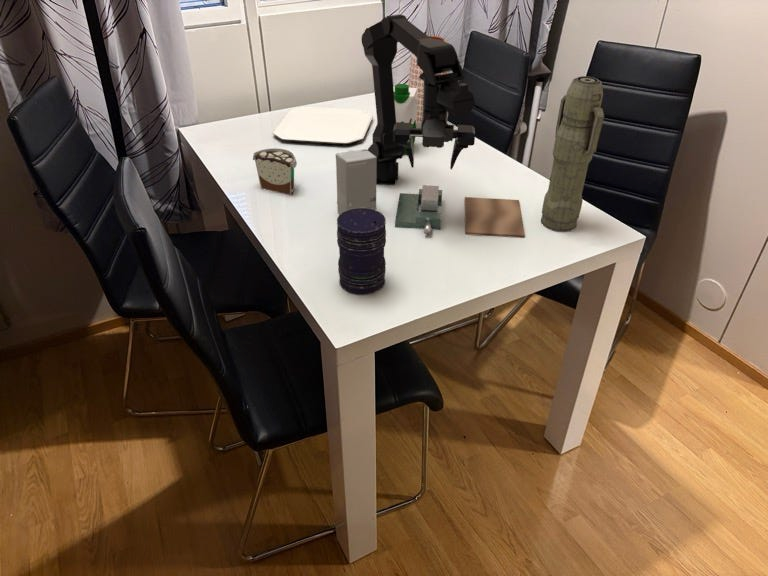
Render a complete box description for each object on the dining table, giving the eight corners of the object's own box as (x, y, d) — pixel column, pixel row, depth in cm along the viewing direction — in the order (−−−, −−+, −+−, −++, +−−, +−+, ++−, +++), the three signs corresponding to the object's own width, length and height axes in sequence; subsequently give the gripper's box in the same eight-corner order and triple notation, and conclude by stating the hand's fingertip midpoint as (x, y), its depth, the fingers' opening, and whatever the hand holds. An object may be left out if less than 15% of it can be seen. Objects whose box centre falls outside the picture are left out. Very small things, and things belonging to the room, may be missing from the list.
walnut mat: (465, 234, 146) (465, 232, 145) (464, 199, 160) (464, 197, 160) (524, 237, 145) (525, 235, 144) (518, 202, 159) (518, 199, 159)
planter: (406, 121, 204) (408, 33, 188) (445, 122, 204) (452, 34, 188) (405, 137, 194) (408, 44, 177) (447, 138, 193) (454, 45, 177)
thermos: (564, 238, 144) (596, 90, 124) (528, 218, 152) (552, 76, 132) (589, 228, 149) (624, 83, 128) (553, 208, 156) (580, 69, 136)
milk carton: (384, 154, 183) (384, 87, 171) (389, 142, 190) (390, 77, 178) (413, 156, 182) (415, 89, 170) (417, 145, 189) (420, 79, 177)
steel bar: (420, 221, 151) (421, 199, 147) (421, 206, 157) (422, 185, 154) (436, 222, 150) (437, 200, 147) (437, 207, 157) (438, 185, 153)
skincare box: (347, 223, 149) (345, 163, 140) (335, 211, 154) (333, 152, 145) (378, 216, 152) (378, 156, 143) (365, 204, 157) (365, 146, 148)
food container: (307, 187, 165) (305, 152, 159) (295, 197, 160) (292, 161, 154) (269, 178, 169) (265, 144, 163) (256, 187, 164) (252, 152, 159)
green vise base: (393, 235, 145) (393, 224, 143) (399, 198, 160) (399, 187, 158) (439, 238, 144) (440, 227, 142) (441, 200, 159) (442, 190, 158)
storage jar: (331, 289, 127) (327, 226, 118) (349, 264, 135) (348, 204, 126) (375, 299, 124) (375, 236, 116) (392, 274, 132) (393, 213, 123)
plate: (293, 111, 212) (292, 105, 211) (375, 116, 209) (375, 110, 208) (269, 144, 189) (268, 137, 188) (361, 150, 186) (360, 143, 185)
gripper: (391, 114, 131) (390, 180, 141) (478, 118, 130) (471, 184, 139) (395, 97, 140) (394, 160, 150) (477, 100, 139) (470, 164, 148)
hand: (431, 167), depth 146 cm, fingers open, 9 cm apart
